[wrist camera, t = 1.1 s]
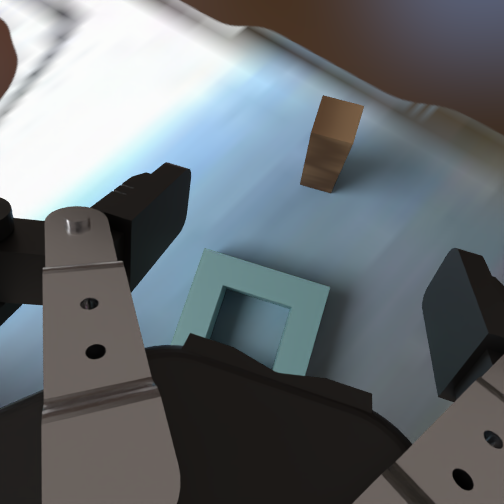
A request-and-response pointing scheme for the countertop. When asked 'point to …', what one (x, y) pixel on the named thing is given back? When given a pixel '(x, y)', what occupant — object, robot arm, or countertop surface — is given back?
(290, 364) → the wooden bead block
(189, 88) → the countertop surface
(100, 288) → the robot arm
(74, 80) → the countertop surface
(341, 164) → the tall brown block
